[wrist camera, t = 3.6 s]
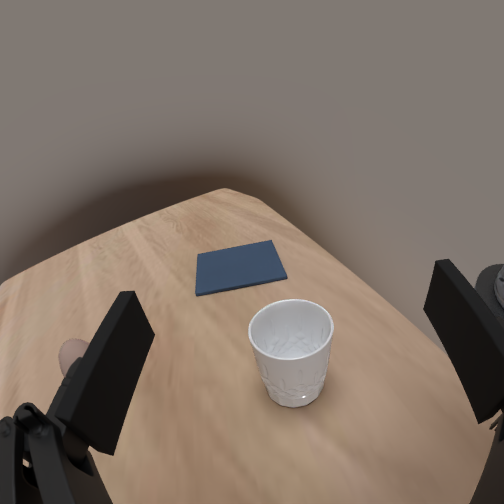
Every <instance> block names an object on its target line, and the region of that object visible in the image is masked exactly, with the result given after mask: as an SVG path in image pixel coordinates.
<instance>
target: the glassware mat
mask: <svg viewBox="0 0 504 504" xmlns="http://www.w3.org/2000/svg"><path fill="white" fill-rule="evenodd" d="M283 279H287V275H286V272H285V270H284V268H283V265H282V263H281V261H280V258H279V256H278V254H277V251H276V249H275V247H274V245H273V242H272V240H269V241H264V242H258V243H253V244H248V245H243V246H237V247H232V248H227V249H222V250H217V251H212V252H207V253H201V254H198V257H197V273H196V291H195V294H196V296H200V295H206V294H211V293H217V292H222V291H227V290H233V289H238V288H243V287H248V286H253V285H258V284H263V283H268V282H273V281H278V280H283Z"/></svg>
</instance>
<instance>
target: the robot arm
mask: <svg viewBox="0 0 504 504" xmlns="http://www.w3.org/2000/svg"><path fill="white" fill-rule="evenodd" d="M494 294H495V297H496V299H497V301H498V303H499V305H500V306H501V307H502V309H503V310H504V266H503V267H502V268H501V270H500V271H499V273H498V275H497V277H496V280H495V283H494ZM423 310H424V311H425V313H426V315H427V316H428V318H429V320H430V322H431V323H432V325H433V327H434V329H435V330H436V333H437V335H438V336H439V338H440V340H441V342H442V344H443V346H444V348H445V350H446V352H447V354H448V356H449V358H450V360H451V362H452V364H453V366H454V368H455V370H456V372H457V374H458V376H459V379H460V381H461V383H462V385H463V388H464V390H465V392H466V394H467V397H468V399H469V402H470V404H471V406H472V409H473V411H474V414H475V416H476V419H477V422H478V424H480V423H482V422H484V421H486V420H488V419H490V418H492V417H493V416H494V415H495V414H496V413H497V412H498V411H499V410H500V409H501V411H502V414H501V415H500V416H499V417H498V418H497V419H496V420H495V421H494V422H493V423H492V424H491V426H490V429H493V428H494V427H495V426H496V425H497V424H498V425H497V427H496V428H495V430H494V431H496V433H495V436H494V440H493V443H492V447H491V450H490V453H489V456H488V459H487V462H486V465H485V468H484V470H483V473H482V476H481V478H480V481H479V483H478V485H477V488H476V490H475V492H474V495H473V497H472V499H471V501H470V503H469V504H504V320H503V319H502V318H501V317H500V316H498V317H495V316H494V314H493V313H492V312H491V310H490V309H489V308H488V306H487V305H486V304H485V302H484V301H483V300H482V298H481V297H480V296H479V294H478V293H477V292H476V291H475V289H474V288H473V287H472V286H471V285H470V283H469V282H468V281H467V280H466V278H465V277H464V276H463V275H462V274H461V273H460V271H459V270H458V269H457V268H456V267H455V266H454V264H453V263H452V262H451V261H450V260H449V259H444V260H438V261H435V266H434V270H433V275H432V279H431V283H430V287H429V291H428V294H427V298H426V302H425V305H424V308H423ZM154 336H155V334H154V332H153V330H152V328H151V326H150V324H149V322H148V319H147V317H146V315H145V313H144V311H143V309H142V307H141V304H140V302H139V300H138V298H137V296H136V293H135V291H122V292H120V293H119V295H118V296H117V298H116V300H115V301H114V303H113V305H112V306H111V308H110V309H109V311H108V313H107V315H106V316H105V318H104V320H103V321H102V323H101V325H100V326H99V328H98V330H97V332H96V333H95V335H94V337H93V339H92V341H91V342H90V344H89V346H88V348H87V350H86V352H85V353H84V355H83V357H78V358H77V359H76V360H75V361H74V362H73V363H72V364H71V366H70V367H69V369H68V371H67V373H66V375H65V376H66V377H65V378H64V379H63V381H62V383H61V384H62V385H61V386H60V387H59V389H58V391H57V393H56V395H55V397H54V399H53V401H52V403H51V405H50V407H49V410H48V412H47V413H46V415H44V414H43V413H42V412H41V411H40V410H39V409H38V408H37V407H36V406H35V405H34V404H33V403H29V402H27V403H23V404H22V405H20V406H19V407H18V408H17V410H16V411H15V413H14V416H13V418H11V417H8V416H7V417H4V418H3V419H1V420H0V504H113V503H112V501H111V499H110V497H109V495H108V493H107V490H106V488H105V486H104V484H103V482H102V479H101V477H100V475H99V472H98V470H97V468H96V465H95V463H94V460H93V457H92V455H91V453H90V452H89V451H88V447H89V445H90V446H91V447H92V448H94V449H95V450H97V451H98V452H102V453H105V454H108V455H112V456H114V452H115V449H116V446H117V442H118V439H119V436H120V433H121V429H122V426H123V423H124V420H125V417H126V414H127V411H128V408H129V405H130V402H131V399H132V396H133V393H134V390H135V388H136V385H137V382H138V379H139V376H140V374H141V371H142V368H143V365H144V363H145V360H146V357H147V355H148V352H149V349H150V347H151V344H152V342H153V339H154ZM23 459H25V460H26V461H28V462H29V467H26V466H24V465H23Z"/></svg>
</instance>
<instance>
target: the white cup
mask: <svg viewBox="0 0 504 504" xmlns="http://www.w3.org/2000/svg"><path fill="white" fill-rule="evenodd" d="M333 329H334V325H333V320H332V318H331V316H330V314H329V313H328V312H327V311H326V310H325V309H324V308H323V307H322V306H320V305H318V304H316V303H314V302H311V301H307V300H302V299H287V300H281V301H277V302H274V303H271V304H269V305H267V306H265V307H264V308H262V309H261V310H260V311H258V312H257V313H256V314H255V315H254V317H253V318H252V320H251V322H250V324H249V328H248V335H249V339H250V343H251V346H252V349H253V353H254V356H255V359H256V363H257V366H258V369H259V372H260V375H261V378H262V380H263V383H264V384H265V388H266V390H267V392H268V394H269V396H270V398H271V399H272V400H274V401H275V402H276V403H278V404H279V405H282V406H287V407H292V408H294V407H299V406H304V405H307V404H309V403H310V402H312V401H313V400H315V399H316V398H317V397H318V396H319V394H320V392H321V390H322V389H323V386H324V379H325V376H326V373H327V367H328V363H329V357H330V350H331V343H332V337H333Z"/></svg>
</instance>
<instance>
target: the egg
mask: <svg viewBox="0 0 504 504" xmlns="http://www.w3.org/2000/svg"><path fill="white" fill-rule="evenodd" d="M89 344H90V343H88V342H86V341H84V340H81V339H69V340H67V341H66V342H64V343H63V345H62V346H61V348H60V351H59V364H60V368H61V371H62V374H63V376H64V378H65V377H66V376H65V375H66V373H67V371H68V369H69V367H70V366H71V364H72V363H73V362H74V361H75V360H76V359H77V358H78V357H83V355H84V353H85V352H86V350H87V348H88V346H89Z"/></svg>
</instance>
